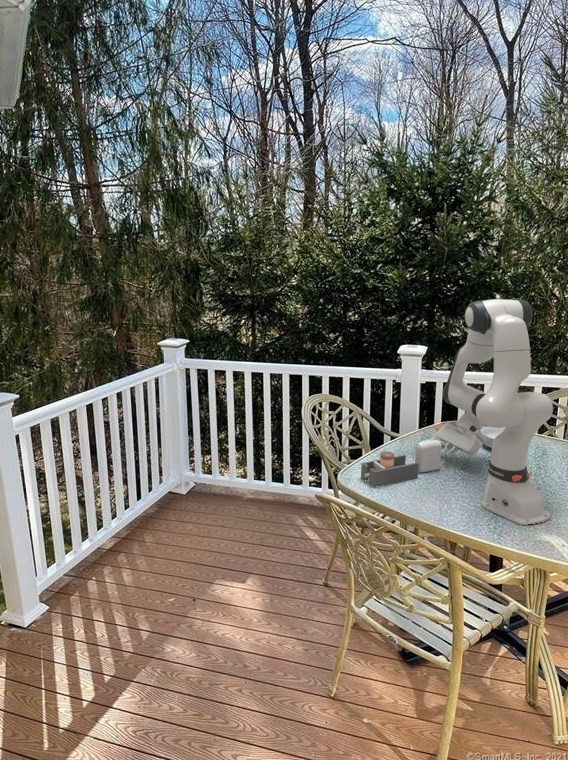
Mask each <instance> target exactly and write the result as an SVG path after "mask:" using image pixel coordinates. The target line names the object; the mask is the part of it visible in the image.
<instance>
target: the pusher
mask: <svg viewBox="0 0 568 760" xmlns="http://www.w3.org/2000/svg"><path fill="white" fill-rule="evenodd" d="M373 469H374V470H375V471H377V470H382V469H386V468H385V467H383V466H382V465H380V464H379V463H377V462H376V461H375V462H374V463H373ZM365 477H368V478H369V473H367V474H365Z"/></svg>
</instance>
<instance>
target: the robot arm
mask: <svg viewBox="0 0 568 760" xmlns="http://www.w3.org/2000/svg"><path fill="white" fill-rule="evenodd" d="M533 314H534V313H533V308H532V306H531V305H530V303H529V302H528V301H527V300H524V299H518V298H517V299H499V298H494V299H486V300H476V301H472V302H470V303H469V304H468V305H467V307H466V308H465V312H464V322H465V325H466V327H467V328H468V333H467V336H466V337H467V338H466V342H465V343H464V345H462V346H460V347H459V348H458V350H457V352H456V354H455V356H454V359H453V363H452V366H451V369H450V372H449V375H448V379H447V380H446V383H445V385H444V387H443V390H442V398H443V400H444V402H445V403H446V404H448V405H452V406H453V407H456V408H458V409H459V410H462V411H464V413H463V414H462V415H461V416H460V417H459V419H458V420H457V421H456V422H454V421H452V420H451V421H447V422H446V423H444V424H445V425H443V426H442V427H441V428H440V429H439V430H438V431H437V433H436V436H435V438H436V437H437V438H438V439H439V440H441V441H443V442H445V443H446V444H445V446H444V449H443V450H442V454H443V455H445V456H446V457H449V458H450V457H451V456H452V455H453V454H455V453H457V452H458V451H461V452H463V453H464V454H466V455H469V456H471V457H473V456H475V455H476V454H477V453H478V452H479V451H480V449H481V448H482V445H483V442H485V440H486V437H485V436H484V435H483V434H482V432H481V430H482V429H483V427H495V428H503V427H506V428H505V429H504V431H503V432H502V433H500V434H499V435H498V436H496V437H495V439H494V440H493V443H492V448H491V455H490V460H489V461H488V466H487V467H488V468H487V472H488V475H487V478H486V479H487V480H486V484H485V487H484V489H483V493H482V495H481V496H480V498H481V504H480V507H481V508H483V509H484V510H487V511H489V512H492V513H494V514H496V515H498V516H500V517H503V518H505V519H507V520H509V521H511V522H513V523H516V524H518V525H520V526H521V525H522V526H529V525H528V524H534V525H536V524H535V523H538V524H541V523H540V522H542V523H544V521H545V522H547V521H548V520H550V518H551V516H552V515H551V512H549V511H548V510H547V509H545V508H544V507H545V506H544V498H543V496H542V494H541V493H540V492H539V490H538V489H537V488H536V487H535V485H534V484H533V483H532V482H531V481H530V477H532V474H533V472H529V471H528V468H527V460H528V452H529V447H530V445H531V442H532V440H533V438H534V436H535V434H536V433H537V432H538V430H539V429H540V428H541V427H542V426H543V425H544V424H545V423H547V422H548V421H549V420H550V419H551V418H552V415H553V412H554V406H553V402H552V399H551V398H550V397H549V396H548V395H547V394H545V393H541V392H534V391H524V392H523V391H522V392H519V388H520V385H521V383H522V382H523V381H524V380H526V379H528V378H529V376H531V375H530V374H531V373H532V365H531V364H532V363H531V346H530V338H529V333H528V327H529V326H530V324H531V323H532V320H533ZM492 359H493V375H492V380H491V384H490V386H489V388H488V389H487V391H481V390H479V389H477V388H474V387H472V386H471V385H467V384H466V383H465V382H464V376H465V373H466V372H467V371H466V370H467V368H468V364H481V363H485V362H488V361H490V360H492ZM547 519H548V520H547ZM546 520H547V521H546Z"/></svg>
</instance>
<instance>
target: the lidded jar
mask: <svg viewBox="0 0 568 760" xmlns="http://www.w3.org/2000/svg"><path fill="white" fill-rule="evenodd" d="M445 424H446V423H438V424H436V425H435V426H434V427H435V428H434V433H435V440H438V441H440V443H441V447H445V444H446V443H445V442H443V441H441V440H439V439H438V438H437V437H436V433H437V431H438V430H439V429H440V428H441V427H442V426H443V425H445Z"/></svg>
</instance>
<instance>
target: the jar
mask: <svg viewBox="0 0 568 760" xmlns="http://www.w3.org/2000/svg"><path fill="white" fill-rule="evenodd" d="M379 454H380V455H379V457H380V458H379V459H380V465H382V466H383V467H385V468H386V469H387V468H392V467H394V457H395V453H394V452H392V451H387V450H386V451H380V453H379Z"/></svg>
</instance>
